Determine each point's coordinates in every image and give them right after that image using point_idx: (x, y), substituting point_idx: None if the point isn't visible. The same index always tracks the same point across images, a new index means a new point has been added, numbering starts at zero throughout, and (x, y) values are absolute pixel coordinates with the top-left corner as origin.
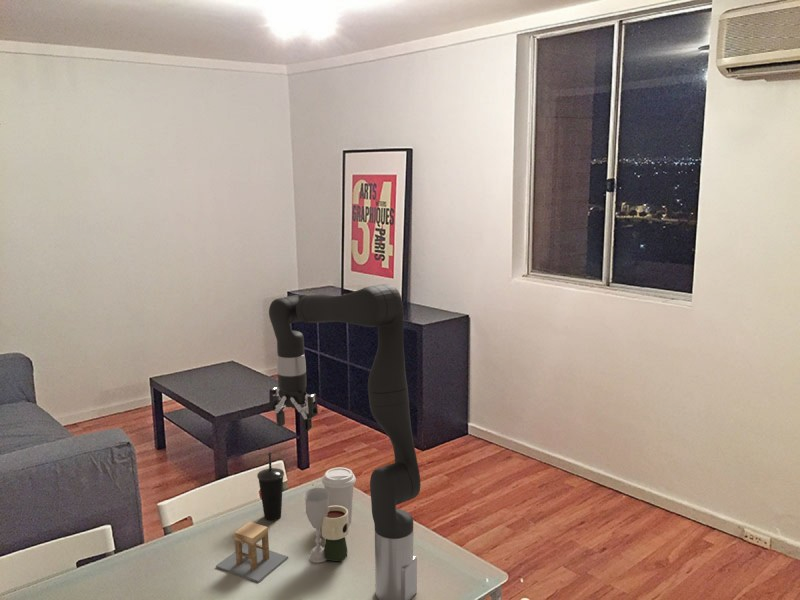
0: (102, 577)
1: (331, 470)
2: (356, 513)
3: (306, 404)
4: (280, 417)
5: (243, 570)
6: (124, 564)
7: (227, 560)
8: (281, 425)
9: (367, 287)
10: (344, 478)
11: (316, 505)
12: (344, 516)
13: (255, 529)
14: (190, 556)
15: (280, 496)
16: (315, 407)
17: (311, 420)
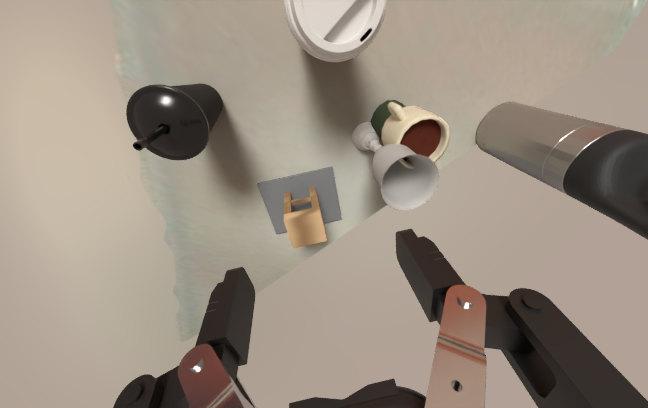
0: (206, 302)
1: None
2: None
3: (481, 395)
4: (246, 332)
5: None
6: (195, 286)
7: (276, 221)
8: (251, 285)
9: None
10: (377, 16)
11: (417, 193)
12: (448, 141)
13: (310, 227)
14: (231, 240)
15: (212, 105)
16: (588, 367)
17: (455, 272)
